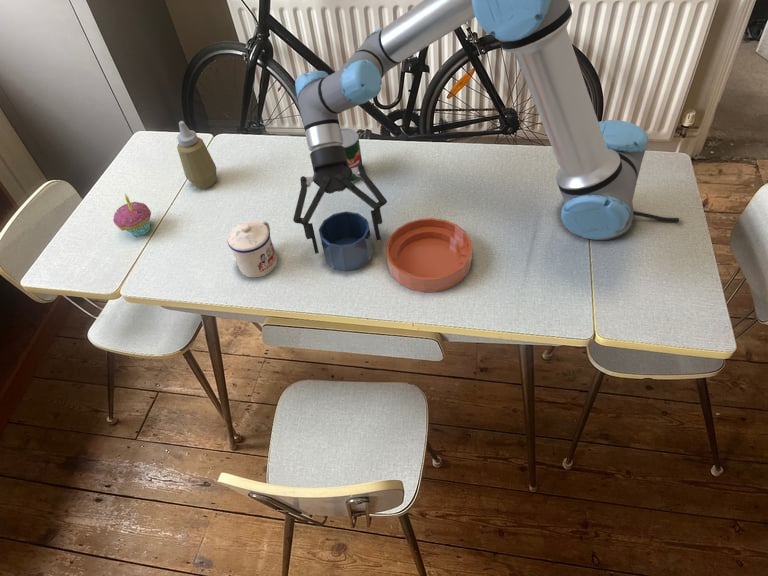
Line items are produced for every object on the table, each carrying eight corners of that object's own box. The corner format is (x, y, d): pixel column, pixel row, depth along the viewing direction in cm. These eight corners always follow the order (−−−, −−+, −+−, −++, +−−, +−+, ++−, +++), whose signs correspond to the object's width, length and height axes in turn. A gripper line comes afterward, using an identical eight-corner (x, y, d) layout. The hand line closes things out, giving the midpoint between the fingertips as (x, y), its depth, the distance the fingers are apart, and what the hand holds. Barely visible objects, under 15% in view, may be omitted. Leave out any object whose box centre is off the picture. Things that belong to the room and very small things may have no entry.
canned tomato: (345, 160, 152) (339, 124, 143) (369, 170, 148) (365, 133, 140) (326, 177, 148) (319, 141, 139) (351, 187, 144) (345, 151, 136)
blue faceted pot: (378, 241, 131) (375, 215, 125) (363, 275, 125) (359, 250, 119) (335, 234, 134) (329, 208, 128) (318, 267, 127) (311, 241, 121)
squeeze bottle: (226, 177, 151) (205, 117, 137) (205, 195, 147) (181, 135, 133) (204, 169, 154) (181, 109, 141) (183, 186, 150) (157, 127, 137)
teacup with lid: (268, 282, 126) (254, 244, 117) (231, 275, 128) (215, 237, 119) (290, 244, 133) (279, 206, 124) (255, 237, 135) (241, 199, 126)
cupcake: (164, 222, 141) (145, 184, 132) (142, 246, 137) (120, 207, 128) (137, 214, 144) (117, 176, 135) (114, 237, 139) (91, 199, 130)
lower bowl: (478, 240, 129) (479, 225, 125) (460, 300, 118) (461, 286, 115) (401, 227, 133) (400, 213, 130) (377, 284, 123) (375, 270, 119)
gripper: (382, 140, 127) (402, 235, 129) (270, 163, 125) (292, 258, 127) (385, 133, 120) (406, 234, 121) (266, 157, 118) (289, 259, 119)
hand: (348, 247), depth 124 cm, fingers open, 13 cm apart
